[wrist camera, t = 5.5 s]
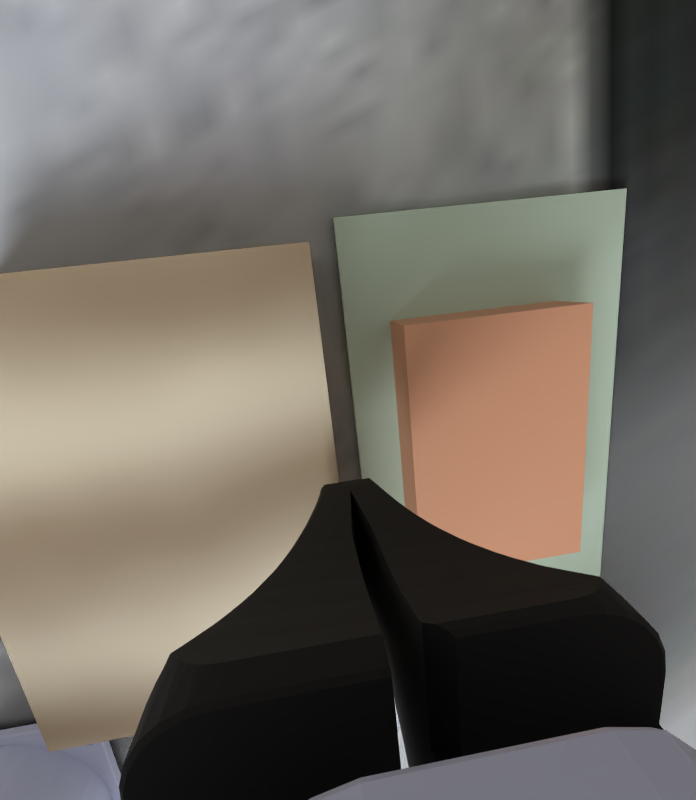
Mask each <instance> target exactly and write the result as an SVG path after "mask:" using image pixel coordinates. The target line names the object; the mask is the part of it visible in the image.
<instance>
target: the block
mask: <svg viewBox="0 0 696 800" xmlns="http://www.w3.org/2000/svg"><path fill="white" fill-rule="evenodd" d="M592 320H593V303H588V302H568V301H550V302H541V303H533V304H525V305H517V306H508V307H500V308H492V309H483V310H475V311H467V312H459V313H450V314H442V315H434V316H426V317H417V318H409V319H401V320H392V321H390V327H391V340H392V352H393V365H394V377H395V390H396V403H397V415H398V428H399V440H400V453H401V466H402V478H403V491H404V503H405V507H406V508H407V509H409V510H410V511H412V512H413V513H415V514H416V515H418V516H419V517H421V518H423V519H424V520H426V521H427V522H429V523H431V524H432V525H434V526H436V527H438V528H440V529H442V530H444V531H446V532H448V533H450V534H452V535H454V536H456V537H458V538H460V539H463V540H465V541H467V542H470V543H472V544H475V545H477V546H480V547H483V548H485V549H488V550H491V551H493V552H496V553H499V554H503V555H506V556H509V557H512V558H516V559H519V560H523V561H530V560H535V559H541V558H547V557H553V556H559V555H565V554H570V553H576V552H580V549H581V530H582V511H583V492H584V472H585V453H586V434H587V415H588V396H589V377H590V358H591V339H592Z"/></svg>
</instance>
